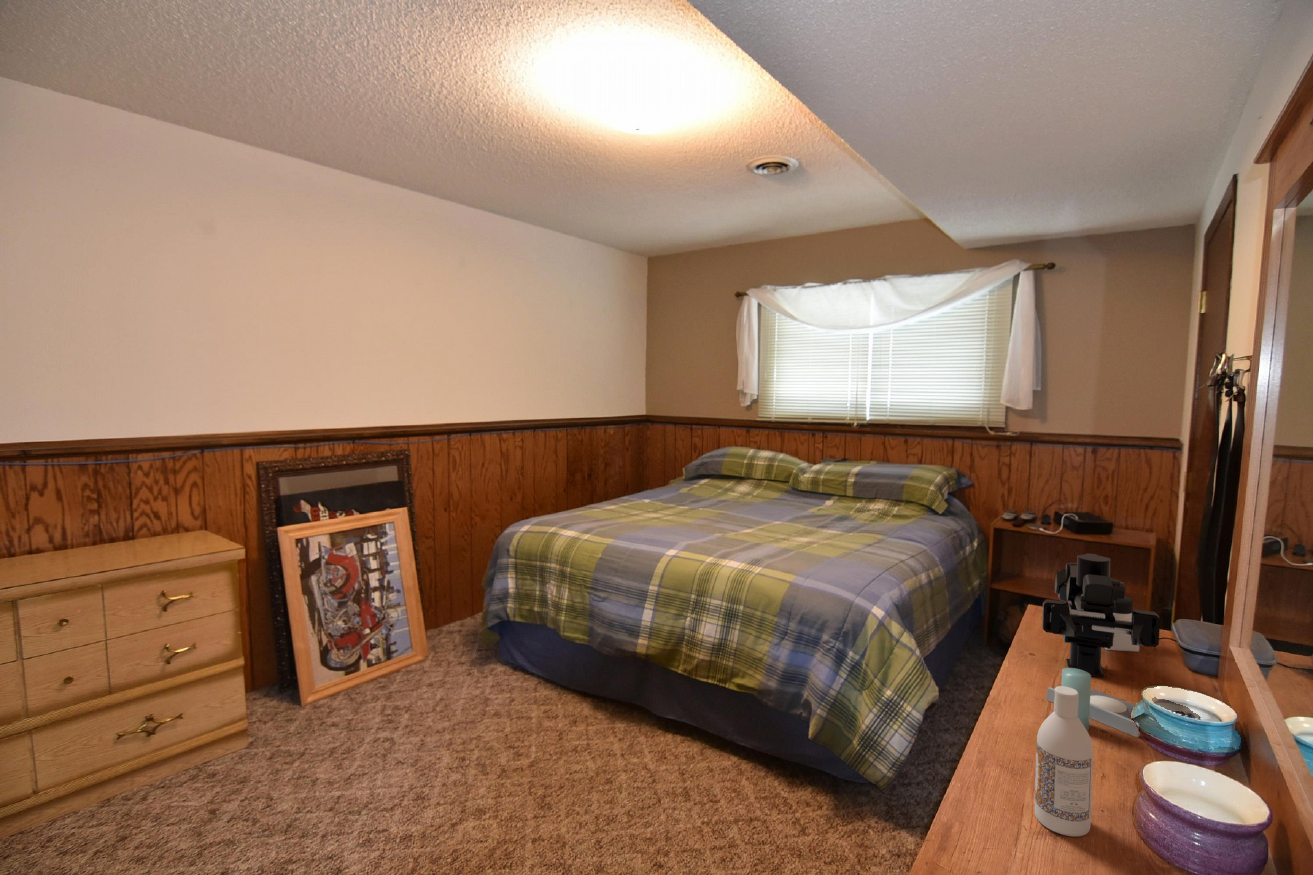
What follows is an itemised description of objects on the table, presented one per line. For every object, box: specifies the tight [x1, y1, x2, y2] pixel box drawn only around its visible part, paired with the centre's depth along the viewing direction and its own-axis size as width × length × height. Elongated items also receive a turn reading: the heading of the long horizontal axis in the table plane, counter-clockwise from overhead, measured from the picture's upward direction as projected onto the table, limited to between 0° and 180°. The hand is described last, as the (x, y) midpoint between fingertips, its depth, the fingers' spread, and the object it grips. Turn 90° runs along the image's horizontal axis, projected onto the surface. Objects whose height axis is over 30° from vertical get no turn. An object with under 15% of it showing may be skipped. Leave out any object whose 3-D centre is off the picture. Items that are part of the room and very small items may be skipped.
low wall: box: [1046, 686, 1141, 738], centre depth 123 cm, size 16×1×2 cm, turn 29°
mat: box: [1090, 689, 1136, 719], centre depth 126 cm, size 9×9×1 cm
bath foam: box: [1034, 685, 1094, 837], centre depth 94 cm, size 7×7×20 cm
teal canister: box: [1060, 667, 1092, 732], centre depth 120 cm, size 4×4×10 cm
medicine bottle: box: [1104, 595, 1141, 653], centre depth 155 cm, size 7×7×12 cm
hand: (1105, 638), depth 119 cm, fingers open, 9 cm apart
